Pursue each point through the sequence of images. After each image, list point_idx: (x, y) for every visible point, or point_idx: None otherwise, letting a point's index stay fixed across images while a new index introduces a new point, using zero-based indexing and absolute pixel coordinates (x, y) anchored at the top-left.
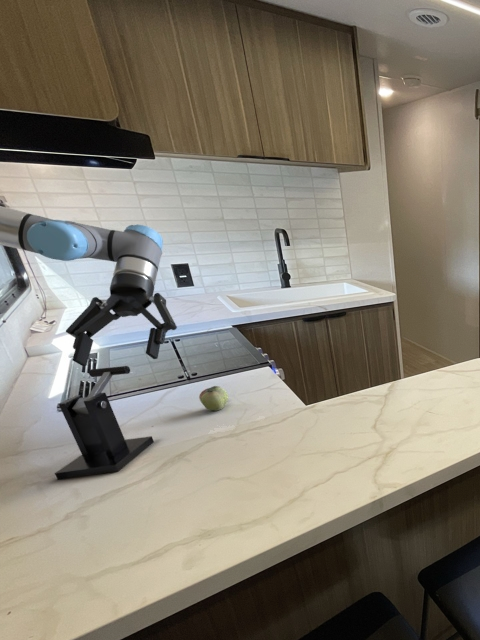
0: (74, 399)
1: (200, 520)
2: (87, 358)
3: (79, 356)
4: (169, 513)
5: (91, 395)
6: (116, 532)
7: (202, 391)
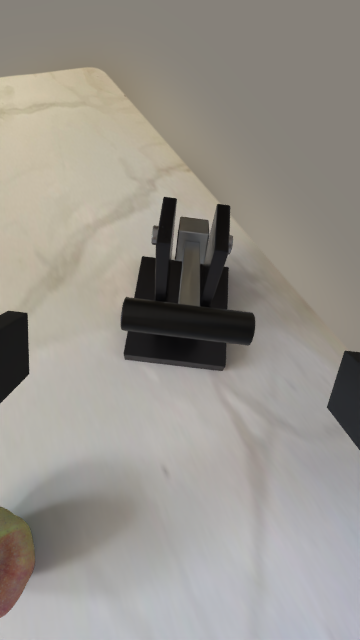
0: (215, 229)
1: (5, 129)
2: (348, 428)
3: (355, 374)
4: (39, 150)
5: (191, 248)
6: (85, 142)
7: (6, 575)
